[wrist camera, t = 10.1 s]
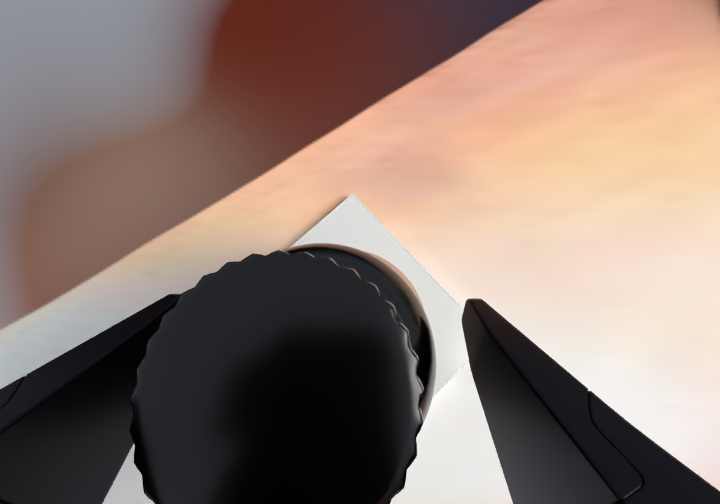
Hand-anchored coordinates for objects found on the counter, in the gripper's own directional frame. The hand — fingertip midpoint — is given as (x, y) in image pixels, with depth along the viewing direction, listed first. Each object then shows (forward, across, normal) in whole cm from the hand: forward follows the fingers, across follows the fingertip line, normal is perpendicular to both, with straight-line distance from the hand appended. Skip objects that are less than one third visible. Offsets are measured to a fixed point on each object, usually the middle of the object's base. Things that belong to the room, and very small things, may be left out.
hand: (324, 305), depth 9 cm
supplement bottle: (+4, 0, +7) cm, 8 cm away
